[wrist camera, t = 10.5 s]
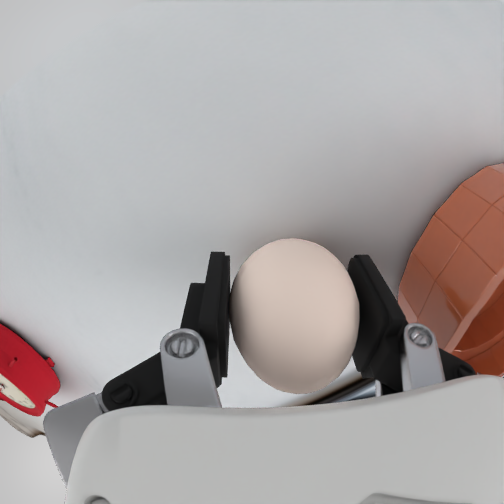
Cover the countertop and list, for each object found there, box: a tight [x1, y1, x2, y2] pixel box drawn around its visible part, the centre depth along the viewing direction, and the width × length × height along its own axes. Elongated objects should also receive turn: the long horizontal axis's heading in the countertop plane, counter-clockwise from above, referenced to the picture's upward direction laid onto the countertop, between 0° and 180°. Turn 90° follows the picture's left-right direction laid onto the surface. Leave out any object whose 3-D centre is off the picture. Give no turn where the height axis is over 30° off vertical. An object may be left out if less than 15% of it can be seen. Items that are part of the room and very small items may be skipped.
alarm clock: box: [0, 324, 60, 416], centre depth 17 cm, size 10×6×15 cm
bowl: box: [398, 163, 504, 377], centre depth 11 cm, size 14×14×6 cm
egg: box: [229, 238, 360, 394], centre depth 10 cm, size 5×5×7 cm
